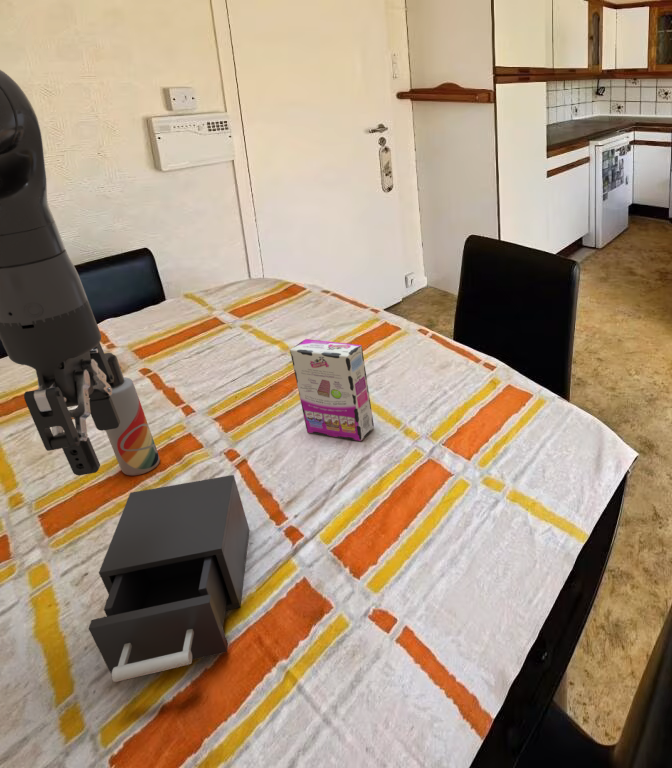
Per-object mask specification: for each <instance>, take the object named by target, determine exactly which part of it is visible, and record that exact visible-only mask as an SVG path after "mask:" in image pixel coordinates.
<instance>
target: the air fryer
mask: <svg viewBox="0 0 672 768" xmlns="http://www.w3.org/2000/svg"><path fill="white" fill-rule="evenodd" d="M238 488H239V487H238V484H237V481H236V478H235V475H234V474H231V475H225V476H219V477H213V478H208V479H207V478H206V479H201V480H196V481H190V482H183V483H179V484H172V485H167V486H161V487H155V488H150V489H143V490H138V491H137V490H136V491H133V492H132V491H131V492H129V495H128V497H127V500H126V503H125V505H124V508H123V510H122V513H121V515H120V518H119V521H118V522H117V526H116V528H115V531H114V533H113V536H112V538H111V540H110V543H109V546H108V548H107V551H106V554H105V556H104V558H103V561H102V563H101V565H100V568H99V571H98V574H99V576H100V579H101V581H102V583H103V585H104V588H105V589H106V591H107V594H108V595H109V593H110V591H111V588H112V585H113V582H114V579H115V577H116V575H118V574H123V573H128V572H133V571H138V570H143V569H148V568H153V567H158V566H163V565H168V564H173V563H178V562H183V561H188V560H193V559H198V558H203V557H208V556H213V555H216V557H217V560H218V563H219V566H220V569H221V572H222V575H223V578H224V581H225V584H226V587H227V590H228V596H227V603H226V610H225V612H226V611H229V610H234V609H239V608H241V605H242V596H243V589H244V579H245V572H246V571H245V570H246V562H247V554H248V545H249V537H250V527H249V522H248V519H247V515H246V512H245V510H244V509H245V508H244V506H243V502H242V498H241V495H240V492H239V489H238Z"/></svg>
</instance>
